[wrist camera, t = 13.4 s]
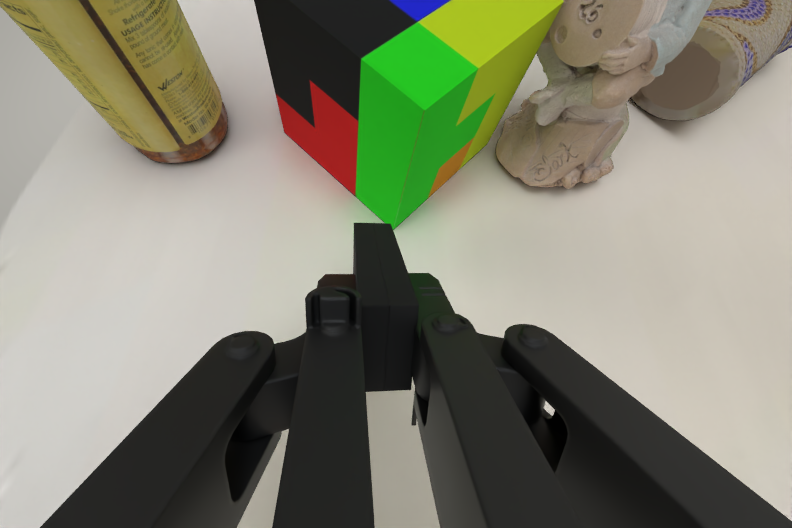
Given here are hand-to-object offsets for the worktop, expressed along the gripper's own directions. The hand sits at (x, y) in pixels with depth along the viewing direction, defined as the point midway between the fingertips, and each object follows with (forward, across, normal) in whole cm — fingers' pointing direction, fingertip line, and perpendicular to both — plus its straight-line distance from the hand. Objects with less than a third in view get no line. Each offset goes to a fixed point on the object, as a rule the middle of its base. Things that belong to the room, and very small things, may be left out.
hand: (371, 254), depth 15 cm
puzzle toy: (+13, -2, -3) cm, 13 cm away
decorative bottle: (+20, -32, -11) cm, 39 cm away
